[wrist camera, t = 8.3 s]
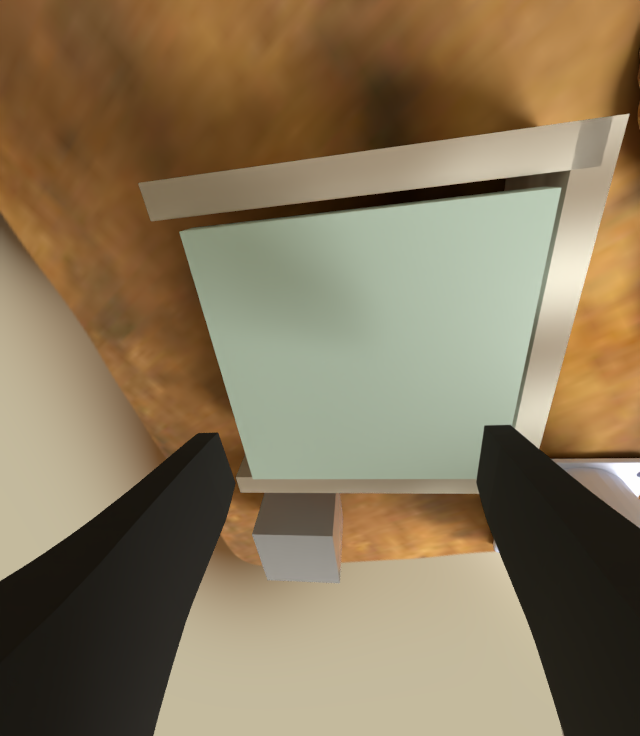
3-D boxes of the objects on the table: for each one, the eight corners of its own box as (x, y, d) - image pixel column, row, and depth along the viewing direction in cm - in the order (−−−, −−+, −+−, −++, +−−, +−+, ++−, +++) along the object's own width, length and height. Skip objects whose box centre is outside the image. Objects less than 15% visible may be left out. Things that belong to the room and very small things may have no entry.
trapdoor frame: (492, 428, 21) (527, 494, 17) (263, 433, 23) (240, 492, 19) (543, 133, 14) (629, 113, 9) (199, 180, 16) (137, 183, 11)
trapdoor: (545, 186, 11) (561, 187, 10) (493, 463, 16) (500, 478, 16) (191, 227, 12) (179, 231, 12) (257, 464, 18) (252, 479, 17)
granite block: (343, 517, 27) (339, 583, 22) (282, 516, 27) (267, 579, 23) (337, 472, 24) (332, 536, 20) (270, 472, 25) (252, 534, 21)
